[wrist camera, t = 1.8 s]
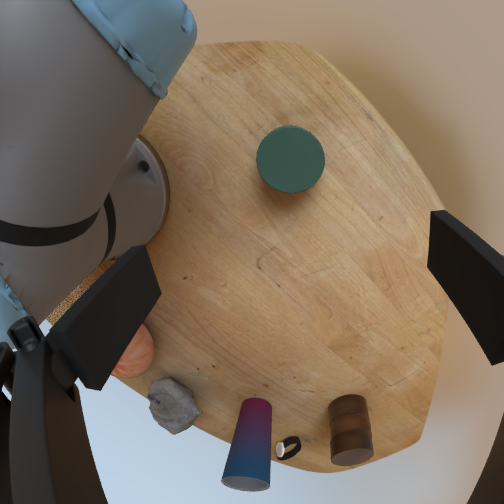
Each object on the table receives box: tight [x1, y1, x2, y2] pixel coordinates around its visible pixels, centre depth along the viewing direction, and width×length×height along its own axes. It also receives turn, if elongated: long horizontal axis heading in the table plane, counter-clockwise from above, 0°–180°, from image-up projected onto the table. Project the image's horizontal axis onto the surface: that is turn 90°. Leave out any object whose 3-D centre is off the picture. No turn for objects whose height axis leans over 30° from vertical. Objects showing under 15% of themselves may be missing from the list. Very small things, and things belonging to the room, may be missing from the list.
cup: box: [221, 398, 272, 492], centre depth 39 cm, size 7×7×15 cm
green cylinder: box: [256, 126, 325, 193], centre depth 27 cm, size 6×6×4 cm
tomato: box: [111, 323, 154, 378], centre depth 38 cm, size 11×11×8 cm
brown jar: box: [329, 395, 374, 466], centre depth 39 cm, size 7×7×10 cm
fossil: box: [147, 378, 202, 434], centre depth 42 cm, size 11×9×8 cm
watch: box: [276, 437, 301, 460], centre depth 50 cm, size 8×5×4 cm, turn 165°
